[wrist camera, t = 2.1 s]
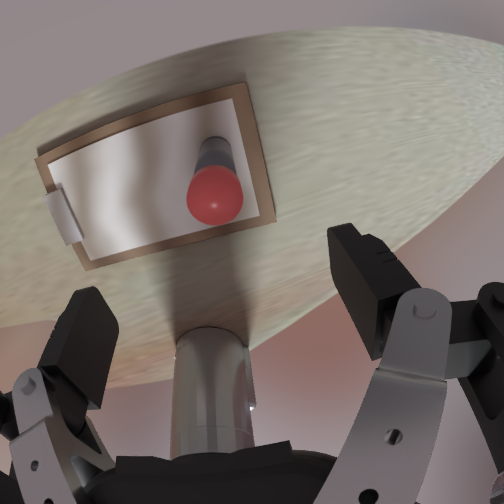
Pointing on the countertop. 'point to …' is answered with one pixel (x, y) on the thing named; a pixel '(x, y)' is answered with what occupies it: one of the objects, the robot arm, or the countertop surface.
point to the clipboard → (152, 178)
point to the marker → (215, 184)
